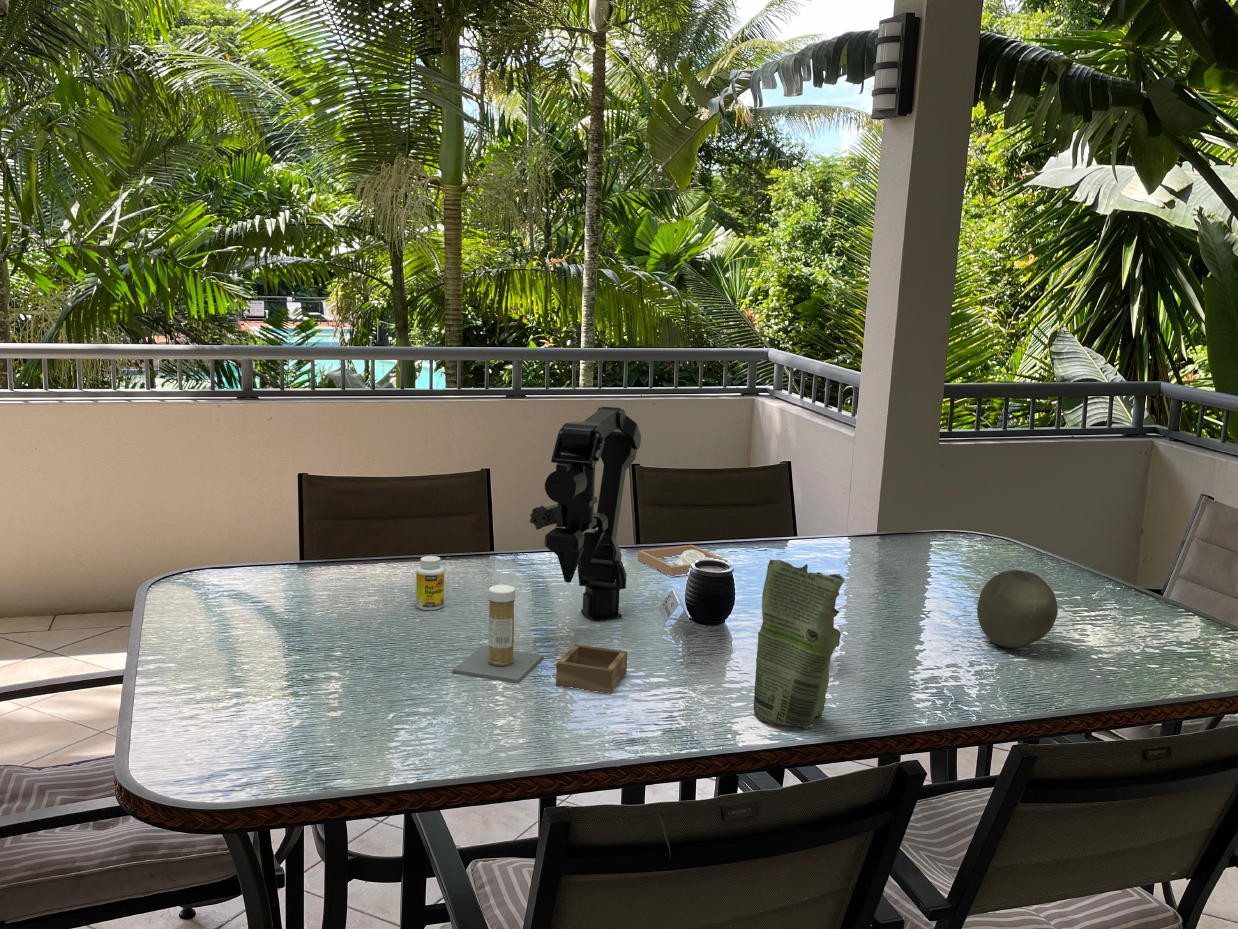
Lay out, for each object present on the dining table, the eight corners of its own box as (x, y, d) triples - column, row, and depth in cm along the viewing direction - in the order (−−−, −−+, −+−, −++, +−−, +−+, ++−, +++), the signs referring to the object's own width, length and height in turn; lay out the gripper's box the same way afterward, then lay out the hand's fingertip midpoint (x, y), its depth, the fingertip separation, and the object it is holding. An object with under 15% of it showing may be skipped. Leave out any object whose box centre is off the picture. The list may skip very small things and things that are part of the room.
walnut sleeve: (574, 665, 174) (575, 644, 173) (626, 673, 171) (627, 651, 171) (555, 685, 165) (556, 663, 164) (610, 694, 162) (611, 671, 162)
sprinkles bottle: (516, 658, 175) (517, 584, 172) (511, 667, 170) (512, 592, 168) (490, 656, 175) (491, 583, 173) (484, 666, 171) (486, 590, 168)
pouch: (749, 701, 162) (759, 552, 157) (823, 704, 162) (835, 555, 157) (757, 731, 151) (767, 572, 146) (836, 734, 151) (848, 575, 146)
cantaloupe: (973, 653, 188) (981, 576, 185) (974, 630, 201) (981, 558, 198) (1054, 665, 183) (1063, 587, 180) (1049, 641, 196) (1058, 567, 193)
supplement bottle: (422, 612, 199) (422, 563, 197) (412, 604, 203) (412, 556, 201) (448, 608, 202) (448, 560, 200) (437, 601, 206) (437, 553, 204)
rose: (703, 544, 244) (722, 554, 235) (703, 561, 245) (721, 572, 236) (667, 546, 240) (684, 557, 231) (666, 564, 241) (683, 575, 232)
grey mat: (481, 649, 180) (481, 646, 180) (543, 658, 177) (543, 655, 177) (452, 673, 169) (452, 669, 169) (518, 683, 165) (518, 679, 165)
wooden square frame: (691, 554, 250) (692, 544, 249) (727, 570, 236) (727, 560, 236) (637, 560, 242) (638, 550, 242) (671, 577, 229) (671, 567, 229)
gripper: (554, 479, 191) (552, 558, 194) (518, 498, 173) (516, 584, 176) (609, 484, 188) (606, 564, 191) (578, 504, 170) (575, 591, 173)
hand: (576, 575), depth 183 cm, fingers open, 9 cm apart
